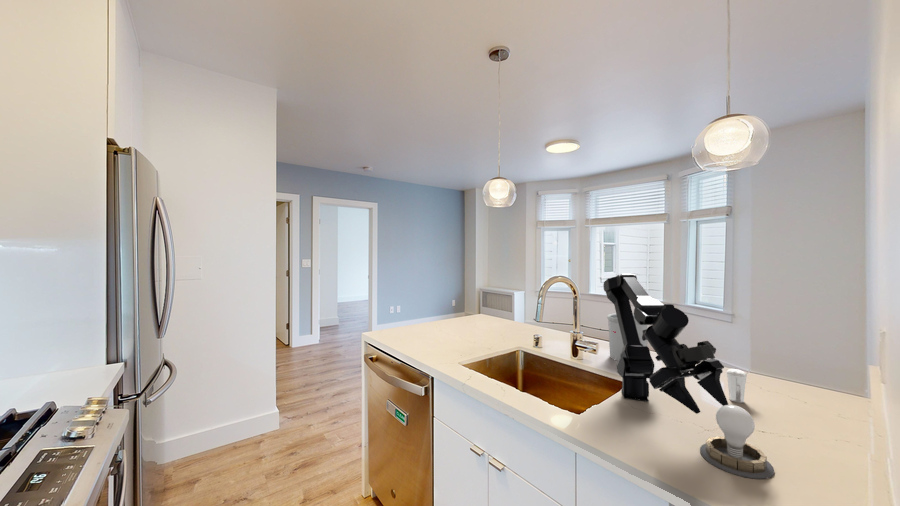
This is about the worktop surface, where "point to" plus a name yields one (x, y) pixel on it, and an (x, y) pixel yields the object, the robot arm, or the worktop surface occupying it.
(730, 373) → the milkshake
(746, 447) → the socket collar
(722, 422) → the lightbulb
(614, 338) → the utensil holder
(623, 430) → the worktop surface
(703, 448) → the socket mat
